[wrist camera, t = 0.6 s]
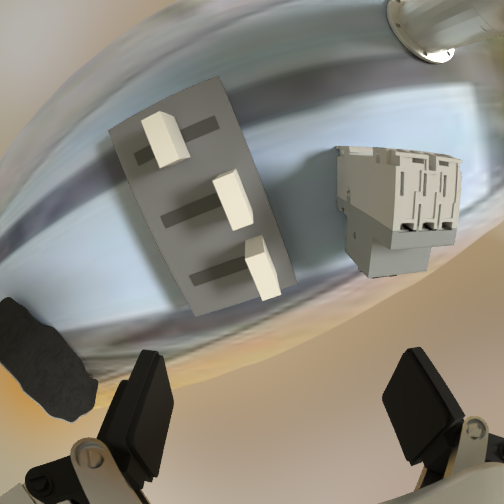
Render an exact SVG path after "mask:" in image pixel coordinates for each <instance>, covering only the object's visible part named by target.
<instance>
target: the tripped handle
mask: <svg viewBox="0 0 504 504" xmlns="http://www.w3.org/2000/svg"><path fill="white" fill-rule="evenodd" d="M141 122H142V125H143V128H144V130H145V133H146V135H147V138H148V140H149V143H150V145H151V148H152V150H153V153H154V155H155V158H156V160H157V163H158V165H159V167H160V168H163V167H167V166H171V165H174V164H176V163H179V162H181V161H183V160H185V159H188V158H190V154H189V152H188V150H187V147H186V145H185V142H184V140H183V137H182V135H181V132H180V130H179V127H178V125H177V122H176V120H175V117H174V116H172V115H169V114H167V113H164V112H162V111H158V112H157V113H155V114H153V115H151V116H149V117H147V118H145V119H143V120H141Z"/></svg>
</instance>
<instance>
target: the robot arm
mask: <svg viewBox="0 0 504 504" xmlns="http://www.w3.org/2000/svg"><path fill="white" fill-rule="evenodd" d="M386 11H387V18H388V21H389V24H390V26H391V28H392V30H393V32H394V33H395V35H396V36H397V38H398V39H399V40H400V41H401V43H402V44H403V45H404V46H405V47H406V48H407V49H408V50H410V51H411V52H412V53H413V54H414V55H416V56H417V57H419V58H421V59H423V60H425V61H427V62H430V63H435V64H439V63H444V62H447V61H448V60H450V59H451V58H452V56H453V54H454V50H455V48H458V47H461V46H464V45H467V44H471V43H474V42H478V41H481V40H485V39H489V38H493V37H497V36H502V35H504V0H390V1H389V3H388V5H387V10H386ZM382 401H383V404H384V406H385V408H386V411H387V413H388V416H389V418H390V420H391V423H392V425H393V427H394V430H395V433H396V435H397V438H398V440H399V443H400V445H401V448H402V450H403V453H404V456H405V458H406V460H407V461H409V462H410V464H411V466H413V465H416V464H418V463H421V462H422V461H423V463H424V468H423V470H422V473H421V475H420V478H419V480H418V483H417V485H416V487H415V490H414V492H411V493H409V494H406V495H403V496H401V497H398V498H395V499H392V500H389V501H386V502H382V503H379V504H504V438H502V437H499V436H496V435H493V434H490V433H489V431H488V426H487V423H486V422H485V421H484V420H483V419H482V418H480V417H478V416H470V417H468V418H467V419H466V420H465V421H464V419H463V418H464V417H465V414H464V412H463V411H462V409H461V407H460V406H459V404H458V403H457V401H456V399H455V398H454V396H453V394H452V393H451V391H450V390H449V388H448V386H447V385H446V383H445V382H444V380H443V379H442V377H441V376H440V374H439V373H438V372H437V370H436V368H435V367H434V365H433V364H432V362H431V361H430V359H429V358H428V356H427V355H426V353H425V352H424V351H423V349H422V348H421V347H415V348H409V349H407V350H406V351H405V353H403V355H402V357H401V359H400V361H399V363H398V365H397V367H396V369H395V371H394V374H393V375H392V377H391V379H390V381H389V383H388V385H387V387H386V389H385V391H384V393H383V396H382ZM173 405H174V400H173V395H172V392H171V388H170V383H169V379H168V375H167V371H166V366H165V362H164V357H163V356H161V355H159V353H158V351H151V350H142V351H141V353H140V355H139V357H138V359H137V362H136V364H135V366H134V369H133V371H132V373H131V375H130V378H129V380H122V381H121V382H120V384H119V386H118V388H117V390H116V393H115V395H114V397H113V400H112V402H111V404H110V407H109V409H108V411H107V414H106V416H105V419H104V421H103V424H102V426H101V428H100V431H99V433H98V436H97V439H95V438H89V437H88V438H83V439H80V440H78V441H77V442H76V443H75V444H74V445H73V447H72V449H71V453H70V455H69V456H67V457H64V458H61V459H58V460H56V461H53V462H50V463H46V464H43V465H40V466H37V467H34V468H32V469H30V470H29V471H28V472H27V474H26V476H25V483H24V484H23V485H22V484H21V483H19V484H17V485H16V486H15V487H13V488H12V489H10V490H9V491H8V492H6V493H5V494H3V495H2V496H1V497H0V504H151V503H150V502H149V500H148V499H147V497H146V496H145V494H144V493H143V491H142V490H141V489H143V486H144V481H147V482H152V480H153V477H157V476H158V474H159V469H160V464H161V459H162V455H163V449H164V445H165V440H166V436H167V432H168V428H169V423H170V418H171V415H172V410H173Z"/></svg>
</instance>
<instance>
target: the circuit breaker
mask: <svg viewBox="0 0 504 504" xmlns="http://www.w3.org/2000/svg"><path fill="white" fill-rule="evenodd" d="M336 149H339V155H340V156H337V209H338V210H339V211H341V212H344V214H345V215H346V216H347V219H346V244H345V251H346V253H347V254H348V255H349V256H350V257H351V258H352V260H353V261H354V262H355V263H356V264H357V266H358V270H359V271H360V272H363V273H364V274H365V275H366V276H367V277H368V278H379V277H386V276H389V277H390V276H397V275H399V274H408V273H416V272H423V271H427V267H428V262H429V256H430V250H431V247H436V246H448V245H454V243H455V237H456V231H457V224H458V216H459V206H460V196H461V181H462V172H459V163H462V160H460V159H456V158H453V157H452V156H449V155H444V154H437V153H430V152H422V151H414V150H404V149H392V148H379V147H356V146H336Z"/></svg>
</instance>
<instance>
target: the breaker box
mask: <svg viewBox="0 0 504 504" xmlns="http://www.w3.org/2000/svg"><path fill="white" fill-rule="evenodd" d="M158 111H162V112H164V113H167V114H169V115H172V116H174V117H175V120H176V122H177V125H178V127H179V130H180V132H181V135H182V137H183V140H184V142H185V145H186V147H187V150H188V152H189V154H190V158H188V159H185V160H183V161H181V162H179V163H176V164H174V165H171V166H167V167H163V168H160V167H159V165H158V163H157V160H156V158H155V155H154V153H153V150H152V148H151V145H150V143H149V140H148V138H147V135H146V133H145V130H144V128H143V125H142V122H141V120H143V119H145V118H147V117H149V116H151V115H153V114H155V113H157V112H158ZM108 132H109V134H110V137H111V140H112V142H113V145H114V148H115V150H116V153H117V155H118V158H119V160H120V163H121V165H122V168H123V170H124V173H125V175H126V177H127V180H128V182H129V185H130V187H131V189H132V192H133V194H134V196H135V198H136V201H137V203H138V205H139V207H140V210H141V212H142V214H143V216H144V218H145V221H146V223H147V225H148V227H149V229H150V231H151V233H152V235H153V237H154V239H155V241H156V244H157V246H158V248H159V250H160V252H161V254H162V256H163V258H164V260H165V261H166V263H167V265H168V267H169V269H170V271H171V273H172V275H173V277H174V279H175V281H176V283H177V284H178V286H179V288H180V290H181V292H182V294H183V295H184V297H185V299H186V301H187V303H188V304H189V306H190V308H191V310H192V312H193V313H194V315H195V317H197V316H200V315H203V314H207V313H210V312H213V311H216V310H220V309H223V308H226V307H229V306H232V305H235V304H239V303H242V302H245V301H248V300H251V299H254V298H257V297H260V296H261V298H262V301H264V300H267V299H270V298H273V297H276V296H279V295H281V292H280V290H281V289H284V288H287V287H290V286H292V285H295V284H298V282H297V280H296V277H295V274H294V271H293V268H292V265H291V262H290V259H289V256H288V254H287V251H286V248H285V245H284V242H283V239H282V237H281V234H280V231H279V228H278V225H277V223H276V220H275V217H274V214H273V212H272V209H271V206H270V204H269V201H268V198H267V196H266V193H265V190H264V188H263V185H262V182H261V180H260V177H259V174H258V172H257V169H256V167H255V164H254V161H253V159H252V156H251V154H250V151H249V149H248V146H247V144H246V141H245V138H244V136H243V133H242V131H241V128H240V126H239V124H238V121H237V119H236V116H235V114H234V111H233V109H232V106H231V104H230V102H229V99H228V97H227V94H226V92H225V90H224V87H223V85H222V82H221V80H220V78H219V76H216V77H214V78H211V79H209V80H206V81H204V82H201V83H199V84H197V85H194V86H192V87H190V88H187V89H185V90H183V91H181V92H178V93H176V94H174V95H172V96H170V97H168V98H166V99H164V100H162V101H160V102H158V103H156V104H154V105H152V106H150V107H148V108H146V109H144V110H142V111H141V112H139V113H137V114H135V115H133V116H132V117H130V118H128V119H126V120H125V121H123V122H121V123H120V124H118V125H116V126H115V127H113V128H111V129H110V130H108Z"/></svg>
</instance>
